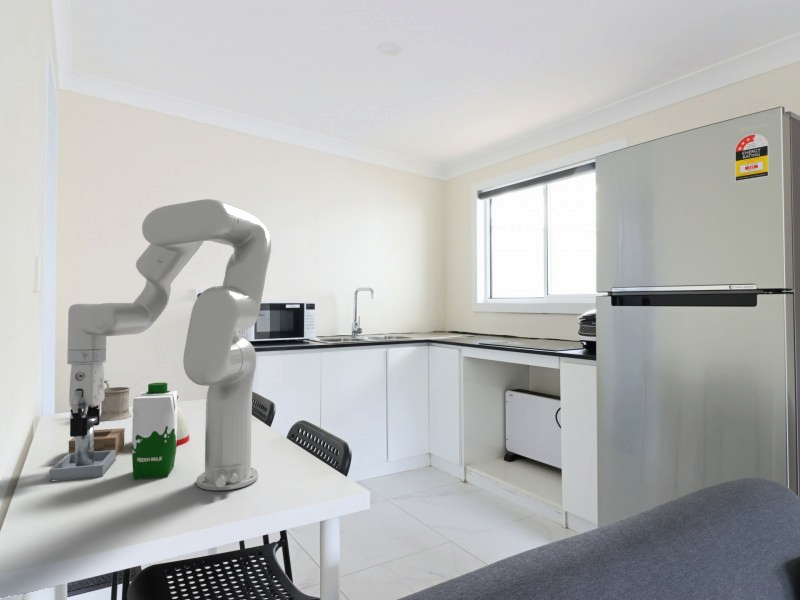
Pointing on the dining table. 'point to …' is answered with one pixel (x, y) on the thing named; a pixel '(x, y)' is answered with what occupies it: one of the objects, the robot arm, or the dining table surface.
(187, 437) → the kitchen timer
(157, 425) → the milk carton
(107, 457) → the tray
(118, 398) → the mug
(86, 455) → the pin
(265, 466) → the dining table surface
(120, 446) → the socket block
